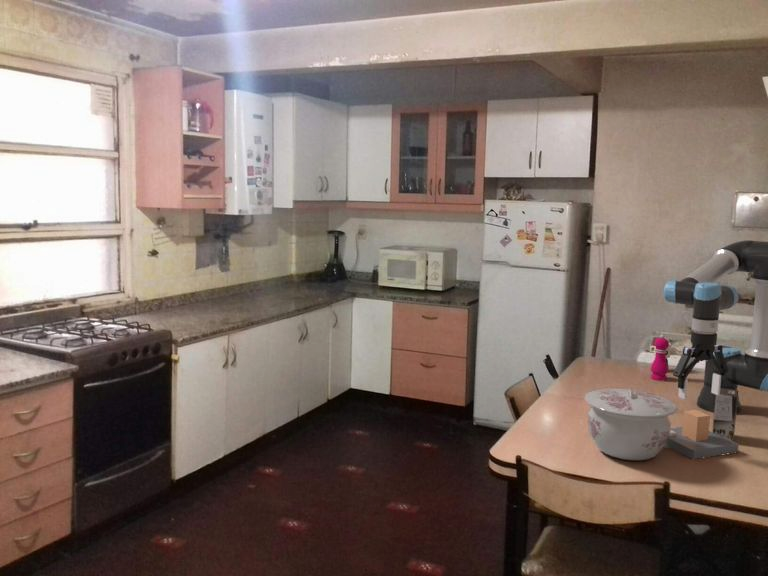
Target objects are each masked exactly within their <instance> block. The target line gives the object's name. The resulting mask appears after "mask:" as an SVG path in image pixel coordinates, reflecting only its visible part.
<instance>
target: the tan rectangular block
mask: <svg viewBox="0 0 768 576" xmlns="http://www.w3.org/2000/svg"><path fill="white" fill-rule="evenodd" d="M682 415H683V418H682V425H681V427H682V435H683V436H685V437H688V439H692V440H694V441H701V440H708V433H709V430H710V420H711V415H709V414H707V413H704V412H702V411H700V410H698V409H694V410H693V409H691V410H683V414H682Z"/></svg>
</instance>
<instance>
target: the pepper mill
mask: <svg viewBox="0 0 768 576" xmlns="http://www.w3.org/2000/svg"><path fill="white" fill-rule="evenodd" d="M669 343H670V342H669V340H668V339H666V338H665V335H664V334H660V336H659V337H658V338H656V339H655V340H654V344H653V346H655V347H656V348H655V352H656V356H655V355H654V357H655V358H654V360H653V361H652V364H651V365H650V371H651V375H650V378H651V379H652V380H653V379H654V381H658V380H661V382H663V381H662V380H665V381H666V380H667V374H668V373H669V364H668V365H667V363H666V359H665V357H666V353H667V348H668V346H669Z"/></svg>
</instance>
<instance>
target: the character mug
mask: <svg viewBox="0 0 768 576" xmlns="http://www.w3.org/2000/svg"><path fill="white" fill-rule="evenodd" d="M655 348H656V347H655V346H654V345H650V346H649V352H650V353H651V354H652V353H653V356H654V357H655V356H656V352H655ZM671 351H672V352H671ZM671 356H676V348H675V347H672V343H670V342H669V346H668V348H667V353H666V357H665V359H666V363H667V365H668V366H669V358H671Z"/></svg>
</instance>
